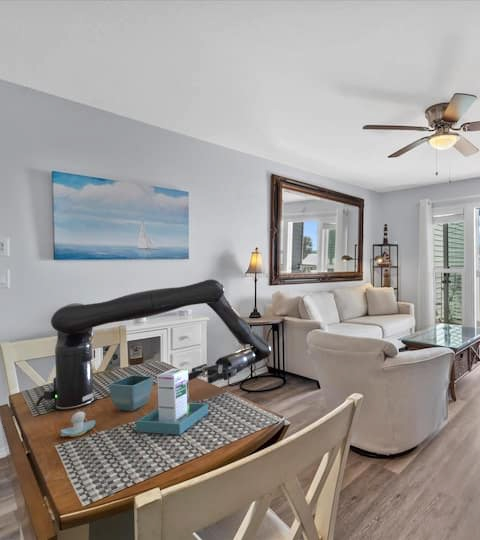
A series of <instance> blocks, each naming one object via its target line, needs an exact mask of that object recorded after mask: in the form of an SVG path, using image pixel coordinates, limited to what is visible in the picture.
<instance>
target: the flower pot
mask: <svg viewBox="0 0 480 540" xmlns="http://www.w3.org/2000/svg"><path fill="white" fill-rule="evenodd" d="M153 383H154V376H151V375H135V374H132V375H128V376H126V377H123V378H120V379H117V380H115V381H112V382H111V383H108V389H109V395H110V400H111V402H112V404H113V405H114V407H115V408H116V409H118V410H119V411H128V412H133V411H135V410H137V409H139V408H141V407H143V406H145V405H146V404H147V402H148V401H149V398H150V396H151V394H152V390H153Z"/></svg>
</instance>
